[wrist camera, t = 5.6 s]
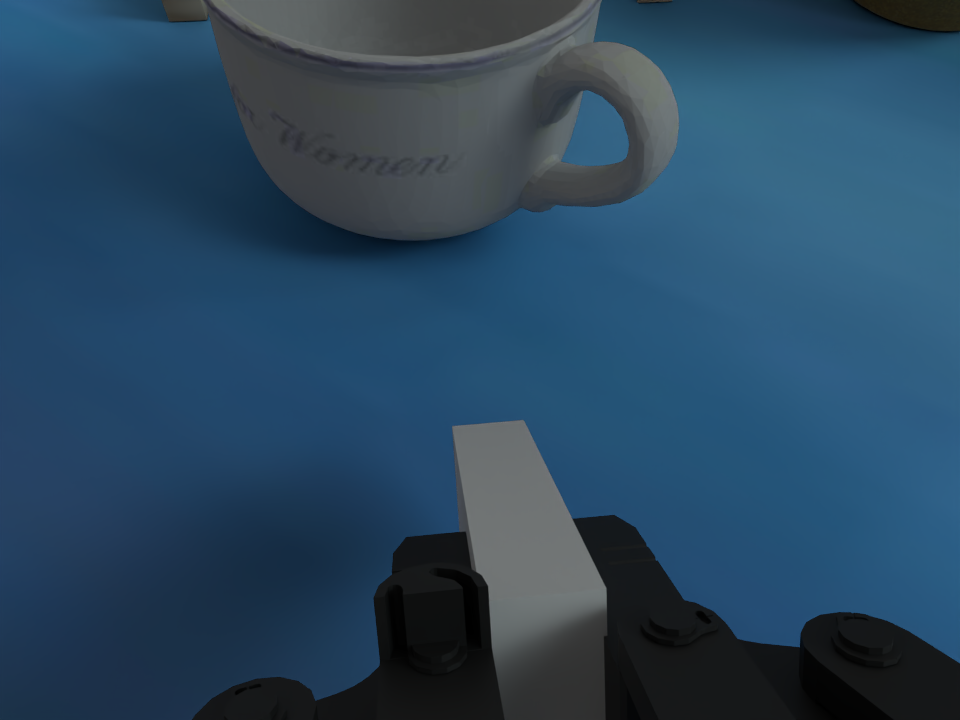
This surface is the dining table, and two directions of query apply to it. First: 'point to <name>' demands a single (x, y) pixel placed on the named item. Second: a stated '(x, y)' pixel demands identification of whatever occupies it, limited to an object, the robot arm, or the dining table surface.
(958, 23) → the plant pot
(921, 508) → the dining table surface
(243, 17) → the teacup
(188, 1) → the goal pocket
